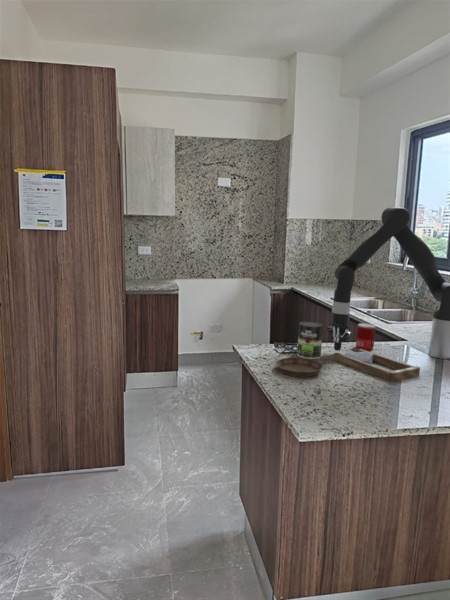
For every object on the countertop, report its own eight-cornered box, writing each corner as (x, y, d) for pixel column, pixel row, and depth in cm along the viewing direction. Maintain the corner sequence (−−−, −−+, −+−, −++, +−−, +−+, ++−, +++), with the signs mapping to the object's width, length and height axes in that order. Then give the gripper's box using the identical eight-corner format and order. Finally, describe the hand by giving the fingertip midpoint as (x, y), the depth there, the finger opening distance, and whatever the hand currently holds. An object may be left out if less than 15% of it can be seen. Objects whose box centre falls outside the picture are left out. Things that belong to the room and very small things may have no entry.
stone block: (371, 371, 186) (373, 360, 195) (371, 360, 185) (374, 350, 193) (341, 367, 191) (345, 357, 200) (341, 357, 189) (345, 347, 198)
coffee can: (318, 360, 191) (321, 327, 189) (294, 357, 195) (296, 324, 192) (322, 354, 200) (325, 323, 198) (299, 351, 204) (302, 320, 202)
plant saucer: (270, 374, 171) (271, 367, 171) (281, 362, 188) (281, 355, 187) (318, 382, 165) (318, 374, 165) (324, 368, 182) (325, 361, 181)
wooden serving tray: (360, 355, 202) (360, 347, 201) (419, 375, 177) (420, 367, 177) (334, 359, 193) (334, 352, 193) (392, 381, 169) (393, 372, 168)
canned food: (374, 350, 210) (376, 327, 208) (356, 349, 212) (358, 326, 210) (372, 346, 218) (374, 324, 216) (355, 345, 219) (357, 322, 217)
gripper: (358, 314, 196) (354, 353, 199) (335, 308, 207) (332, 345, 210) (346, 315, 192) (342, 355, 195) (323, 309, 203) (320, 347, 206)
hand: (337, 350), depth 202 cm, fingers closed
